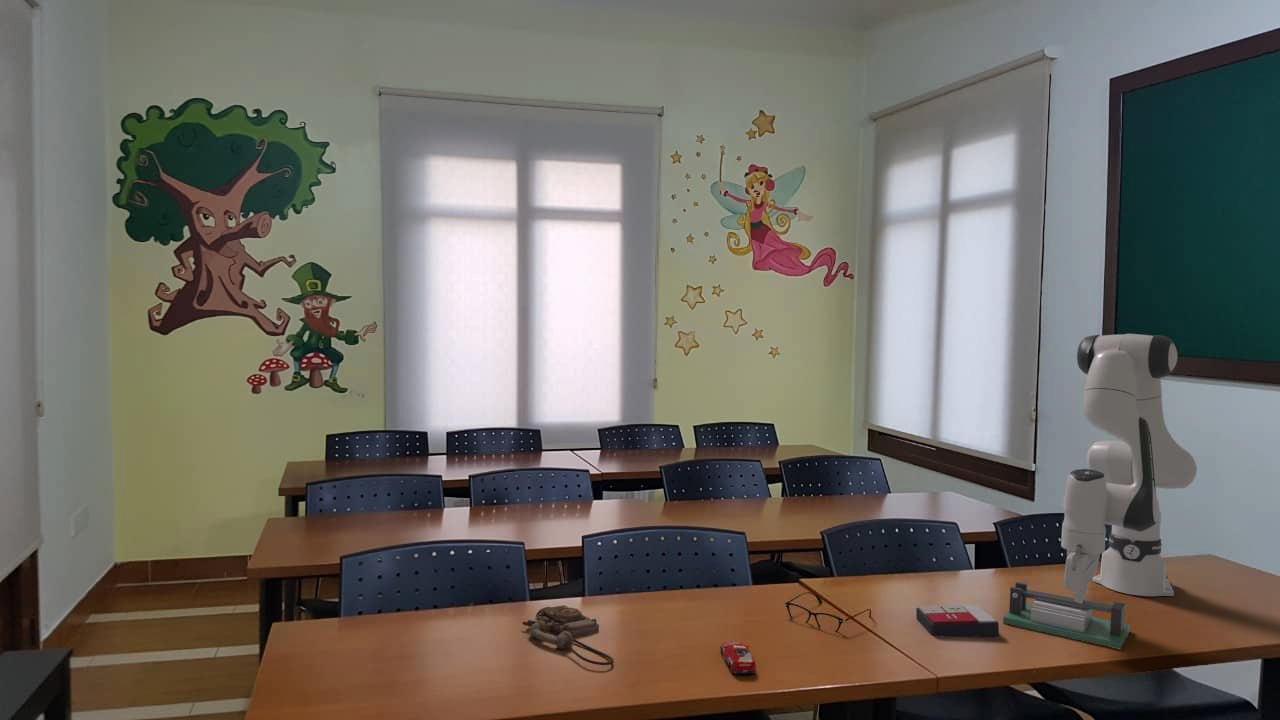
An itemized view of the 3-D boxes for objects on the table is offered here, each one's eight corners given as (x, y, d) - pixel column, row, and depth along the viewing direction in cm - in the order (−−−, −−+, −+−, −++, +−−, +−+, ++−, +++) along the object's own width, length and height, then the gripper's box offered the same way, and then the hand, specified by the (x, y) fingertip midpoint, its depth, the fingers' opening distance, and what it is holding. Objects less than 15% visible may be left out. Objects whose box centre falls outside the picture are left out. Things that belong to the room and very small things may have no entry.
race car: (718, 651, 177) (718, 632, 177) (743, 651, 178) (744, 632, 178) (730, 678, 164) (730, 657, 164) (757, 677, 165) (758, 657, 165)
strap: (1017, 592, 203) (1018, 588, 203) (1112, 609, 191) (1112, 605, 191) (1014, 595, 201) (1014, 591, 200) (1110, 613, 188) (1110, 608, 188)
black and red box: (915, 604, 199) (979, 602, 199) (915, 622, 199) (979, 620, 199) (931, 621, 188) (999, 619, 188) (932, 640, 188) (999, 638, 188)
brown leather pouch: (587, 676, 163) (589, 654, 163) (504, 624, 190) (505, 605, 190) (648, 661, 173) (650, 640, 173) (561, 614, 199) (562, 596, 199)
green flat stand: (1018, 607, 208) (1019, 577, 208) (1129, 631, 194) (1131, 599, 193) (1003, 623, 197) (1004, 591, 197) (1120, 650, 183) (1122, 615, 182)
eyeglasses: (780, 617, 198) (781, 600, 198) (816, 602, 210) (816, 586, 210) (843, 637, 187) (844, 619, 187) (877, 619, 199) (878, 602, 199)
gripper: (1090, 553, 182) (1086, 616, 183) (1105, 536, 199) (1102, 594, 199) (1058, 547, 186) (1055, 609, 187) (1076, 531, 202) (1072, 588, 203)
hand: (1079, 601), depth 193 cm, fingers closed, pressing on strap
